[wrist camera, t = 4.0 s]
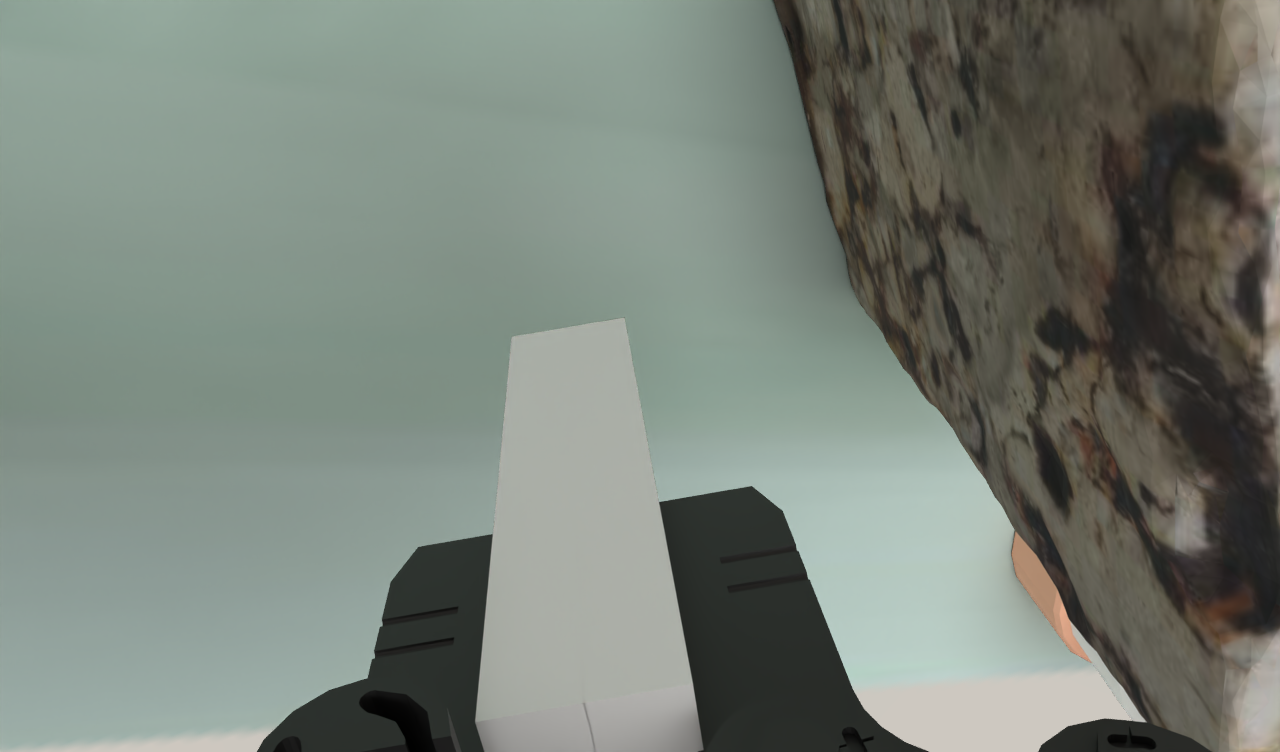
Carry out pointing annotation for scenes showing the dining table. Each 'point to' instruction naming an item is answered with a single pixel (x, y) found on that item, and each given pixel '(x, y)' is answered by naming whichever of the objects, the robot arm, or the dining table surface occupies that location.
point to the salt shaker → (1062, 617)
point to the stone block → (1086, 300)
